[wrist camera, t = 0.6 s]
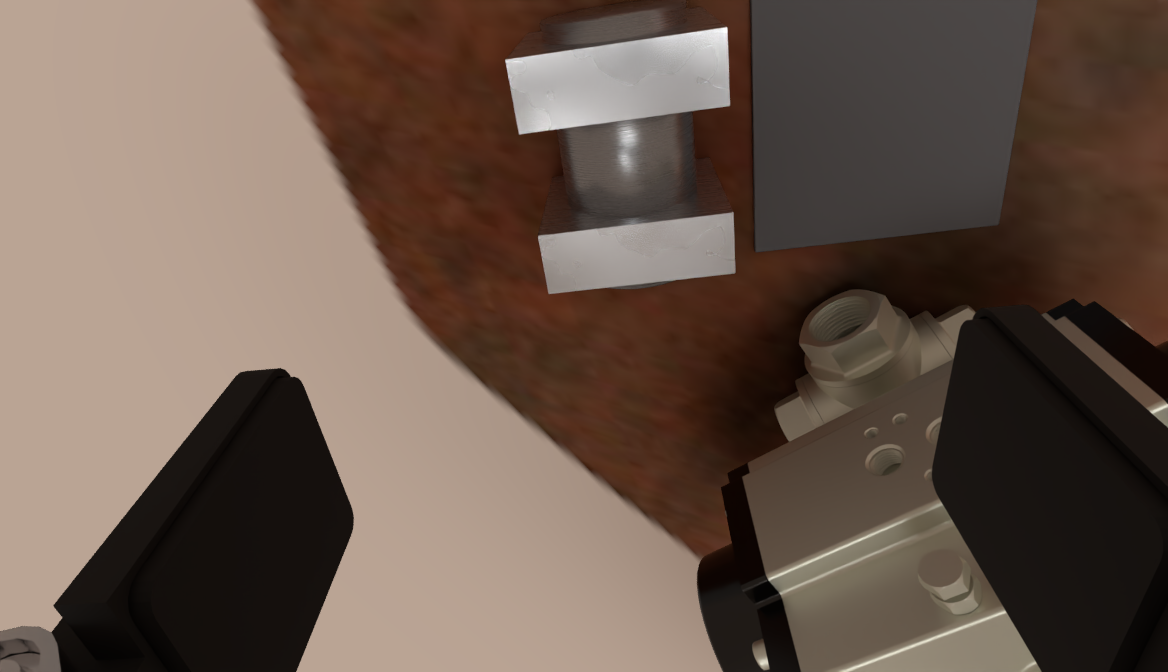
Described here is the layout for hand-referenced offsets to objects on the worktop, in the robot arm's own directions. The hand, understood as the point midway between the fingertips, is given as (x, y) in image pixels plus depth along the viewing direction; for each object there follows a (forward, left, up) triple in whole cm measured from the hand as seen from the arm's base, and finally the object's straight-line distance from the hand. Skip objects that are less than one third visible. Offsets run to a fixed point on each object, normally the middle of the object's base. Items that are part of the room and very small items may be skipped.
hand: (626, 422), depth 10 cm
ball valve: (-13, -10, -20) cm, 26 cm away
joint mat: (-2, -10, -20) cm, 22 cm away
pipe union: (-1, 0, -20) cm, 20 cm away
